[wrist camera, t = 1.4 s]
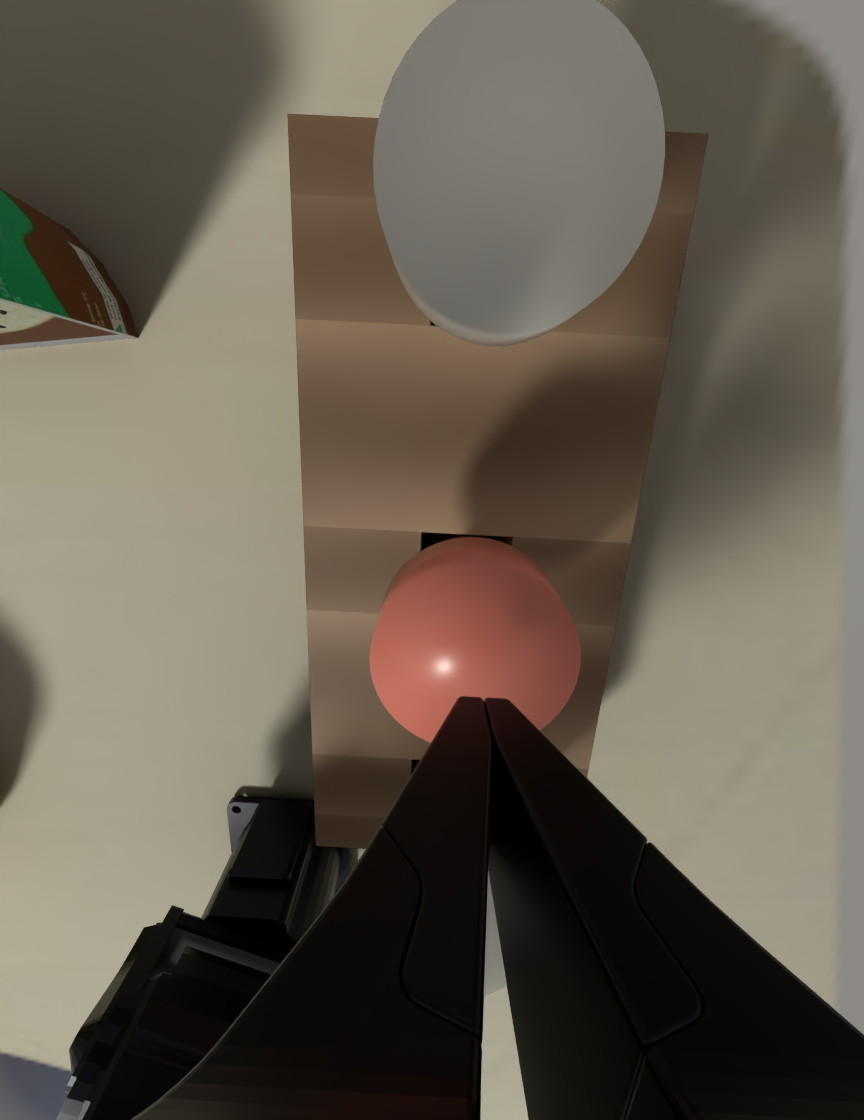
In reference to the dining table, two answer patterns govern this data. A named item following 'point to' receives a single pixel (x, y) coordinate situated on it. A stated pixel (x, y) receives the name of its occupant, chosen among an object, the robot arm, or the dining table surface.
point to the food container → (53, 285)
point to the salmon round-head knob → (472, 635)
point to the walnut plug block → (456, 451)
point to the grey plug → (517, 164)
